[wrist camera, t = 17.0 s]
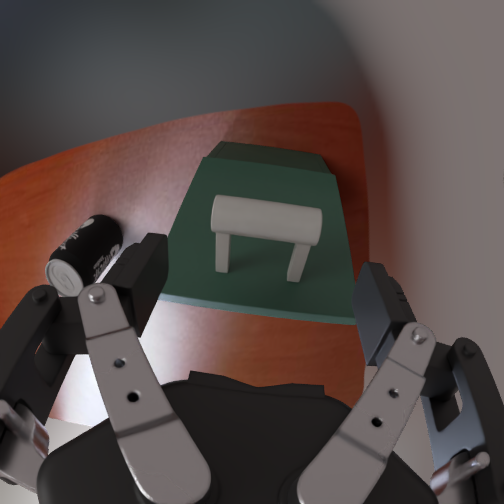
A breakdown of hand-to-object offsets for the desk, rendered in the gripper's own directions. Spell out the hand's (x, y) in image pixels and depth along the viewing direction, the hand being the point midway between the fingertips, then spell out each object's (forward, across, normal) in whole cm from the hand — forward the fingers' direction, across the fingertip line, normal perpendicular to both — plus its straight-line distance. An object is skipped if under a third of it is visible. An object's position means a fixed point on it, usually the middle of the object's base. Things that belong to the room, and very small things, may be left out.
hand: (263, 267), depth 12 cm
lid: (+9, 0, +3) cm, 9 cm away
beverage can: (+25, +22, +15) cm, 37 cm away
